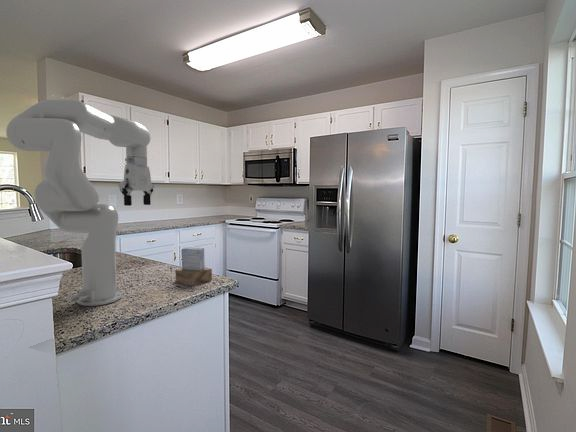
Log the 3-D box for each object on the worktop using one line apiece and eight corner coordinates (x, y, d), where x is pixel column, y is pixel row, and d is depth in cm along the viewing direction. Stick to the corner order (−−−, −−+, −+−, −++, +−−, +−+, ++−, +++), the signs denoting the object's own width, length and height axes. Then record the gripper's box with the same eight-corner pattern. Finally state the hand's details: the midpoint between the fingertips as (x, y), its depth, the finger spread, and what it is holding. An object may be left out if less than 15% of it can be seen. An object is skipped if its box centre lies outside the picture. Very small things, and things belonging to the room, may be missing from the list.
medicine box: (204, 268, 127) (204, 247, 127) (200, 271, 123) (199, 249, 122) (186, 267, 128) (186, 246, 128) (181, 270, 124) (181, 248, 123)
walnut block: (192, 286, 119) (191, 273, 119) (175, 282, 125) (175, 269, 124) (211, 280, 128) (211, 268, 127) (195, 276, 133) (195, 265, 133)
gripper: (126, 159, 115) (127, 206, 116) (160, 164, 131) (160, 204, 132) (111, 160, 117) (112, 205, 118) (146, 164, 133) (146, 204, 135)
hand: (137, 205), depth 125 cm, fingers open, 9 cm apart
